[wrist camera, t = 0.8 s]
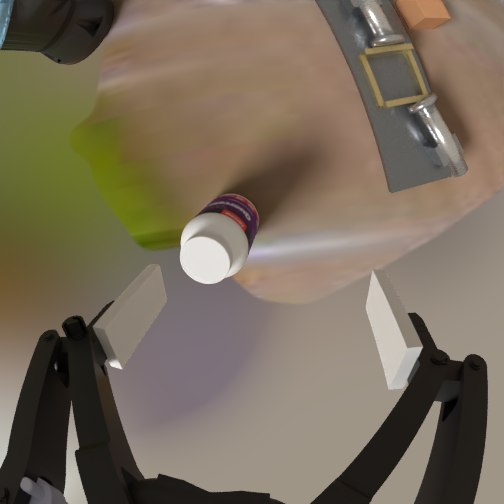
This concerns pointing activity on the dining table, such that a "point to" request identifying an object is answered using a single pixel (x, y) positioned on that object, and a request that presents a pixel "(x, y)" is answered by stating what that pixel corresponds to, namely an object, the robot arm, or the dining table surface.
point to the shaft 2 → (440, 136)
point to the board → (388, 94)
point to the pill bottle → (219, 239)
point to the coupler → (423, 13)
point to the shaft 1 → (375, 21)
